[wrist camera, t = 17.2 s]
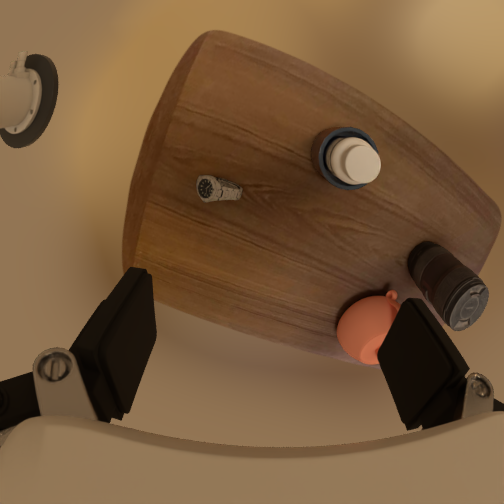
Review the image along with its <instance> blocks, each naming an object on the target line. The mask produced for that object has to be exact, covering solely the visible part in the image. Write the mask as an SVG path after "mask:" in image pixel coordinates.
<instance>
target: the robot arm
mask: <svg viewBox="0 0 504 504" xmlns="http://www.w3.org/2000/svg"><path fill="white" fill-rule="evenodd" d="M27 53H28V52H27V51H22V52H19V54H18V58H17V61H12V62H11V65H10V72H9V74H8V76H0V128H5V129H6V130H7V131H8V132H9V133H11V134H17V133H21V132H23V131H25V130H26V129H27V128H28V127H29V126H30V125H31V123H32V122H33V120H34V118H35V116H36V114H37V112H38V109H39V106H40V102H41V96H42V83H41V78H40V76H39V74H38V73H37V71H35V70H34V69H26V67H24V66H25V61H26V58H27ZM156 333H157V331H156V321H155V311H154V299H153V284H152V275H151V274H148V273H147V270H146V269H142V268H135V267H130V268H129V269H128V270H127V272H126V273H125V274H124V276H123V277H122V278H121V280H120V281H119V282H118V284H117V285H116V287H115V288H114V289H113V291H112V292H111V293H110V295H109V296H108V297H107V299H106V300H103V301H102V302H101V303H100V305H99V306H98V307H97V309H96V310H95V312H94V313H93V315H92V316H91V317H90V319H89V320H88V322H87V323H86V325H85V326H84V328H83V329H82V331H81V332H80V334H79V335H78V337H77V338H76V340H75V341H74V343H73V344H72V346H71V348H70V349H69V350H66V349H64V348H58V347H56V348H50V349H47V350H45V351H43V352H42V353H41V354H39V355H38V357H37V358H36V359H35V361H34V364H33V372H30V373H27V374H23V375H20V376H17V377H14V378H11V379H7V380H4V381H1V382H0V504H504V404H503V403H501V402H499V401H498V400H496V399H494V391H493V387H492V384H491V383H490V381H489V380H488V379H487V378H486V377H485V376H483V375H482V374H479V373H471V374H470V375H469V376H468V377H467V378H465V374H466V373H467V372H468V370H469V369H470V368H469V367H468V365H467V364H466V362H465V360H464V359H463V357H462V356H461V354H460V353H459V351H458V349H457V348H456V346H455V345H454V343H453V342H452V340H451V339H450V338H449V336H448V335H447V333H446V332H445V330H444V329H443V328H442V326H441V325H440V323H439V322H438V321H437V319H436V318H435V316H434V315H433V314H432V312H431V311H430V310H429V308H428V307H427V306H426V304H425V303H424V302H423V300H421V299H418V298H408V299H406V300H405V301H404V302H403V303H402V304H401V306H400V309H399V311H398V313H397V315H396V317H395V319H394V321H393V323H392V325H391V327H390V329H389V331H388V333H387V335H386V337H385V339H384V341H383V342H382V344H381V346H380V348H379V350H378V353H377V359H378V362H379V364H380V366H381V369H382V371H383V374H384V376H385V378H386V381H387V383H388V386H389V389H390V391H391V394H392V396H393V399H394V402H395V404H396V407H397V410H398V413H399V415H400V418H401V421H402V422H403V423H404V424H405V426H406V428H407V430H412V429H416V428H418V427H419V426H420V425H422V427H423V428H422V430H421V431H417V432H413V433H409V434H404V435H400V436H395V437H390V438H384V439H378V440H373V441H366V442H359V443H350V444H342V445H331V446H317V447H281V448H280V447H249V446H248V447H247V446H234V445H224V444H223V445H222V444H214V443H206V442H199V441H192V440H186V439H179V438H173V437H168V436H163V435H158V434H153V433H148V432H144V431H139V430H135V429H131V428H126V427H122V426H118V425H114V424H110V421H111V418H115V419H118V420H122V418H123V415H124V413H127V414H128V413H129V412H130V409H131V406H132V403H133V401H134V398H135V395H136V392H137V389H138V386H139V384H140V381H141V378H142V375H143V372H144V370H145V367H146V365H147V362H148V359H149V356H150V354H151V351H152V349H153V346H154V344H155V341H156V336H157V335H156Z"/></svg>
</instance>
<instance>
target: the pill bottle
mask: <svg viewBox="0 0 504 504" xmlns="http://www.w3.org/2000/svg"><path fill="white" fill-rule="evenodd" d="M323 164H324V167H325V169H326V170H327V171H329V172H330V173H331V174H333V175H335V176H336V177H338V178H339V179H340V180H342V181H344V182H346V183H348V184H354V185H356V184H361V183H369V182H371V181H373V180H374V179H375V178H376V177H377V176H378V174H379V172H380V167H381V162H380V158H379V156H378V154H377V153H376V151H375V150H374V149H373V148H372V147H371V146H370V145H369V144H368V143H367V142H366V141H364V140H362V139H360V138H356V137H348V136H333V137H332V138H331V139H330V140H329V141H328V143H327V144H326V146H325V148H324V153H323Z"/></svg>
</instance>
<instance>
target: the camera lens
mask: <svg viewBox="0 0 504 504" xmlns="http://www.w3.org/2000/svg"><path fill="white" fill-rule="evenodd" d="M408 267H409V270H410V273H411V277H412V278H413V280H414V282H415V284H416V285H417V287H418V288H419V289H420V290H421V291H422V293H423V295H424V297H425V298H426V300H427V301H428V302H429V303H430V304H432V305H433V307H434V308H435V310H436V312H437V313H438V314H439V316H440V317H441V318H442V320H443V321H444V322H445V323H446V324H447V325H448V326H450V327H451V328H452V329H453V330H454V331H461V330H464V329H466V328H468V327H469V326H471V325H472V324H473V323H474V322H476V321H477V319H478V318H479V317H480V316H481V314H482V313H483V311H484V309H485V307H486V305H487V302H488V297H489V292H488V288H487V287H486V285H485V284H484V283H483V281H482V280H481V279H480V278H479V277H478V276H477V275H476V274H475V273H474V272H473V271H472V270H470V269H469V268H468V267H466V266H464V265H463V264H462V263H461V262H460V261H459V260H457V259H456V258H455V257H454V256H453V255H452V254H451V253H450V252H449V251H448V250H446V249H445V248H443V247H441V246H440V245H438V244H434V243H432V242H423V243H421V244H419V245H418V246H417V247H415V248H414V250H413V251H412V253H411V254H410V257H409V261H408Z"/></svg>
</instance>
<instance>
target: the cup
mask: <svg viewBox="0 0 504 504" xmlns="http://www.w3.org/2000/svg"><path fill="white" fill-rule="evenodd" d="M333 136H348V137H356V138H360V139H362V140H364V141H366V142H367V143H368V144H369V145H370V146H371V147H372V148H373V149H374V150H375V151H376V153H377V154H378V150H377V148H376V145H375V143H374V141H373V140H372V139H371V138H370V136H369V135H368V134H366V133H365V132H363V131H362V130H360V129H356V128H353V127H332V128H328V129H325V130H324V131H322V132H321V133H319V134H318V135H317V137H316V138H315V140H314V141H313V144H312V147H311V160H312V163H313V165H314V167H315V169H316V170H317V172H318V173H319V174H320V175H321V176H322V177H324V178H325V179H326V180H327V181H328V182H330V183H331V184H332V185H334V186H336V187H338V188H340V189H345V190H354V189H358V188H361V187H363V186H365V185H366V184H367V183H361V184H356V185H354V184H348V183H346V182H344V181H342V180H340V179H339V178H338V177H336V176H335V175H333V174H331V173H330V172H329V171H327V170H326V169H325V167H324V164H323V153H324V148H325V146H326V144H327V143H328V141H329V140H330V139H331V138H332V137H333Z"/></svg>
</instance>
